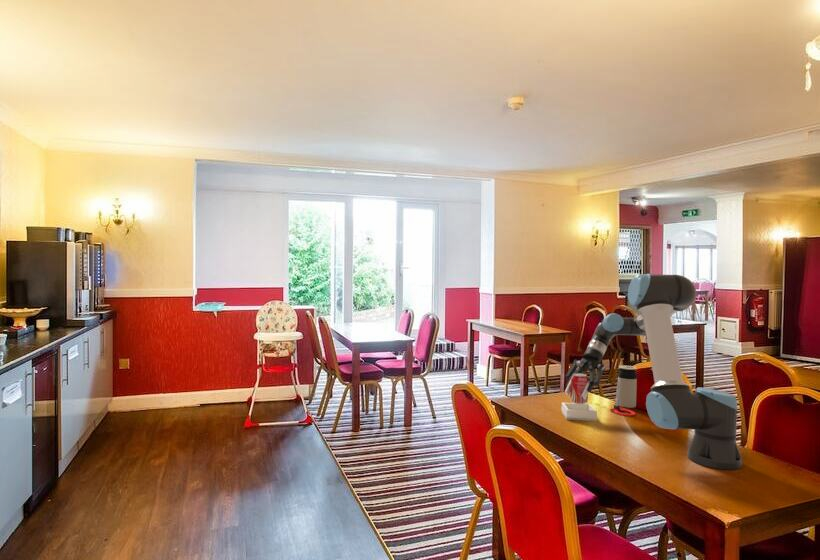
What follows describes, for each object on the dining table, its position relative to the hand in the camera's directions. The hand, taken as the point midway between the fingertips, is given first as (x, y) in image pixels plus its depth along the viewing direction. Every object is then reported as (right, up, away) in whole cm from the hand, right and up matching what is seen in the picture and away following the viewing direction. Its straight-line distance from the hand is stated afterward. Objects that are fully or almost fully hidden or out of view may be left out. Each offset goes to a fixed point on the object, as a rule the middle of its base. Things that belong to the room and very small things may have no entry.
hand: (574, 395), depth 210 cm
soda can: (+2, -4, +3) cm, 5 cm away
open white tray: (+2, -10, +3) cm, 10 cm away
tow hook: (+24, -10, +9) cm, 28 cm away
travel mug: (+31, -10, +21) cm, 39 cm away
